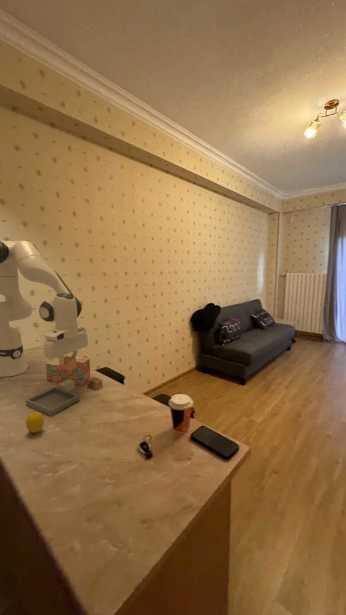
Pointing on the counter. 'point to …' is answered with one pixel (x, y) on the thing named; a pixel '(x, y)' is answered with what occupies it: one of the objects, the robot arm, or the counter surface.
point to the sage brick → (67, 385)
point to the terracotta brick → (69, 363)
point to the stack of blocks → (69, 371)
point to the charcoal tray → (52, 401)
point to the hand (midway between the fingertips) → (68, 362)
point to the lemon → (35, 422)
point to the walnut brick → (94, 383)
